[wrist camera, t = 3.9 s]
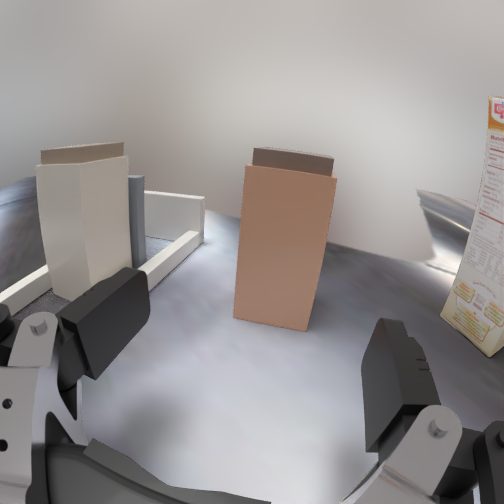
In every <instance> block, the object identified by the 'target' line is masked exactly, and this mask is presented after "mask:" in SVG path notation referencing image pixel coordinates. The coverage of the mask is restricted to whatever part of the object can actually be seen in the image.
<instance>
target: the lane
mask: <svg viewBox="0 0 504 504" xmlns="http://www.w3.org/2000/svg"><path fill="white" fill-rule="evenodd" d="M204 214H205V197H200V196H191V195H183V194H173V193H164V192H154V191H144V216H145V236H149V237H154V238H160V239H165V240H171V241H174V242H173V243H171V244H170V245H169V246H167V247H166V248H165V249H163V250H162V251H161V252H159V253H158V254H156V255H155V256H154V257H153V258H151V259H150V260H149V261H147V262H146V263H145V264H143V265H142V266H141V267H139V268H138V270H142V271H145V272H146V274H147V279H148V290H149V291H150V290H151V289H153V288H154V287H155V286H156V285H157V284H158V283H159V282H160V281H161V280H162V279H163V278H164V277H165V276H166V275H167V274H169V273H170V272H171V271H172V270H173V269H174V268H175V267H176V266H177V265H178V264H179V263H181V262H182V261H183V260H184V259H185V258H186V257H187V256H188V255H189V254H190V253H192V252H193V251H194V250H195V249H196V248H197V247H198V246H199V245H200V244H202V243H203V239H204ZM51 288H52V284H51V280H50V275H49V271H48V266H47V265H45V266H43V267H42V268H40V269H38V270H37V271H35V272H33V273H32V274H30V275H28V276H27V277H25V278H23V279H22V280H20V281H19V282H17V283H16V284H14V285H12V286H11V287H9V288H8V289H6V290H5V291H3V292H2V293H0V303H2V304H5V305H7V306H8V308H9V310H10V313H11V316H13V315H14V314H15V313H17V312H18V311H20V310H21V309H22V308H24V307H25V306H26V305H28V304H29V303H31V302H32V301H33V300H35V299H36V298H38V297H39V296H41V295H42V294H43V293H45V292H46V291H48V290H49V289H51Z"/></svg>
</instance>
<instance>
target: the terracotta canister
mask: <svg viewBox="0 0 504 504" xmlns="http://www.w3.org/2000/svg"><path fill="white" fill-rule="evenodd" d="M333 162H334V159H333V158H332V157H331V156H327V155H321V154H315V153H308V152H301V151H294V150H287V149H278V148H270V147H261V148H254V152H253V162H252V164H248V165H246V167H245V178H244V189H243V201H242V213H241V223H240V235H239V247H238V260H237V272H236V285H235V298H234V312H233V318H238V319H243V320H247V321H252V322H257V323H262V324H267V325H272V326H277V327H282V328H288V329H293V330H299V331H304V332H306V330H307V326H308V322H309V318H310V314H311V310H312V306H313V301H314V297H315V293H316V288H317V284H318V279H319V275H320V270H321V265H322V261H323V256H324V251H325V246H326V241H327V235H328V229H329V224H330V219H331V213H332V208H333V201H334V196H335V189H336V183H337V178H336V176H335V174H334V172H333V171H332V169H333Z"/></svg>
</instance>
